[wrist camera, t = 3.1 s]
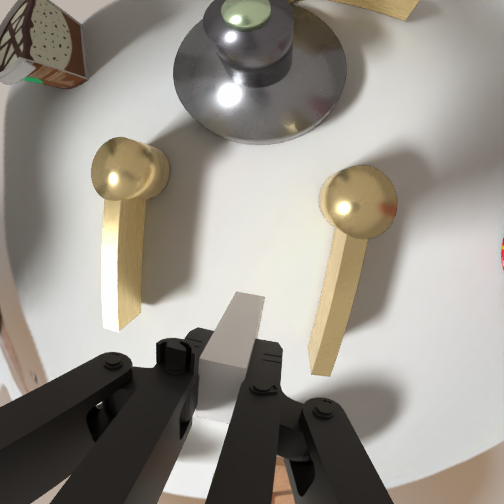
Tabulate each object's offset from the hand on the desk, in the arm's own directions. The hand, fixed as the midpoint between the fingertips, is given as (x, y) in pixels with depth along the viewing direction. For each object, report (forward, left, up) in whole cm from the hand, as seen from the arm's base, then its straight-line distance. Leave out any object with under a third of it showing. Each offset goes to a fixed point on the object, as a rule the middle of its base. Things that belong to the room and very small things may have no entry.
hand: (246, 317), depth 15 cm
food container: (-24, +19, -8) cm, 32 cm away
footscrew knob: (-10, +2, -7) cm, 13 cm away
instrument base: (0, +19, -8) cm, 21 cm away
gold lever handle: (+6, +2, -7) cm, 10 cm away
